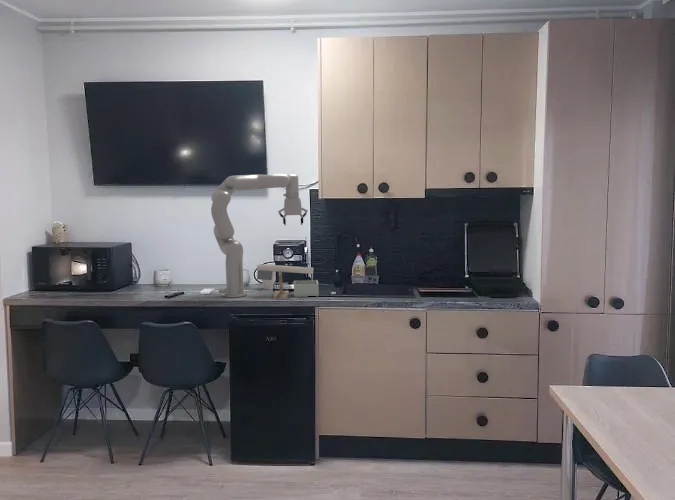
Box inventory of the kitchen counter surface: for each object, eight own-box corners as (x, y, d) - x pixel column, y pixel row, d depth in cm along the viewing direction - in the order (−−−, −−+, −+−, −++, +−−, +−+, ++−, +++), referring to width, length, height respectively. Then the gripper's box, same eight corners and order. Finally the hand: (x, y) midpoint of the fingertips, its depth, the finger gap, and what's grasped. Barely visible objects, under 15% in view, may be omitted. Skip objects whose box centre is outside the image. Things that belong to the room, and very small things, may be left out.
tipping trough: (256, 279, 334) (257, 265, 334) (257, 274, 351) (258, 261, 350) (312, 282, 337) (313, 269, 336) (311, 278, 353) (312, 265, 353)
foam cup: (257, 289, 362) (256, 267, 361) (266, 287, 370) (265, 265, 369) (271, 290, 358) (270, 268, 356) (279, 287, 366) (278, 266, 364)
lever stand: (273, 298, 332) (272, 272, 331) (274, 293, 346) (273, 268, 345) (288, 297, 333) (287, 271, 331) (288, 293, 347) (287, 268, 345)
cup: (294, 297, 333) (293, 284, 333) (294, 293, 347) (293, 280, 346) (318, 296, 334) (318, 283, 334) (317, 292, 348) (317, 280, 347)
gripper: (277, 196, 349) (278, 225, 351) (307, 195, 350) (308, 224, 352) (277, 196, 356) (278, 225, 358) (307, 195, 357) (307, 224, 359)
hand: (293, 224), depth 355 cm, fingers open, 9 cm apart
